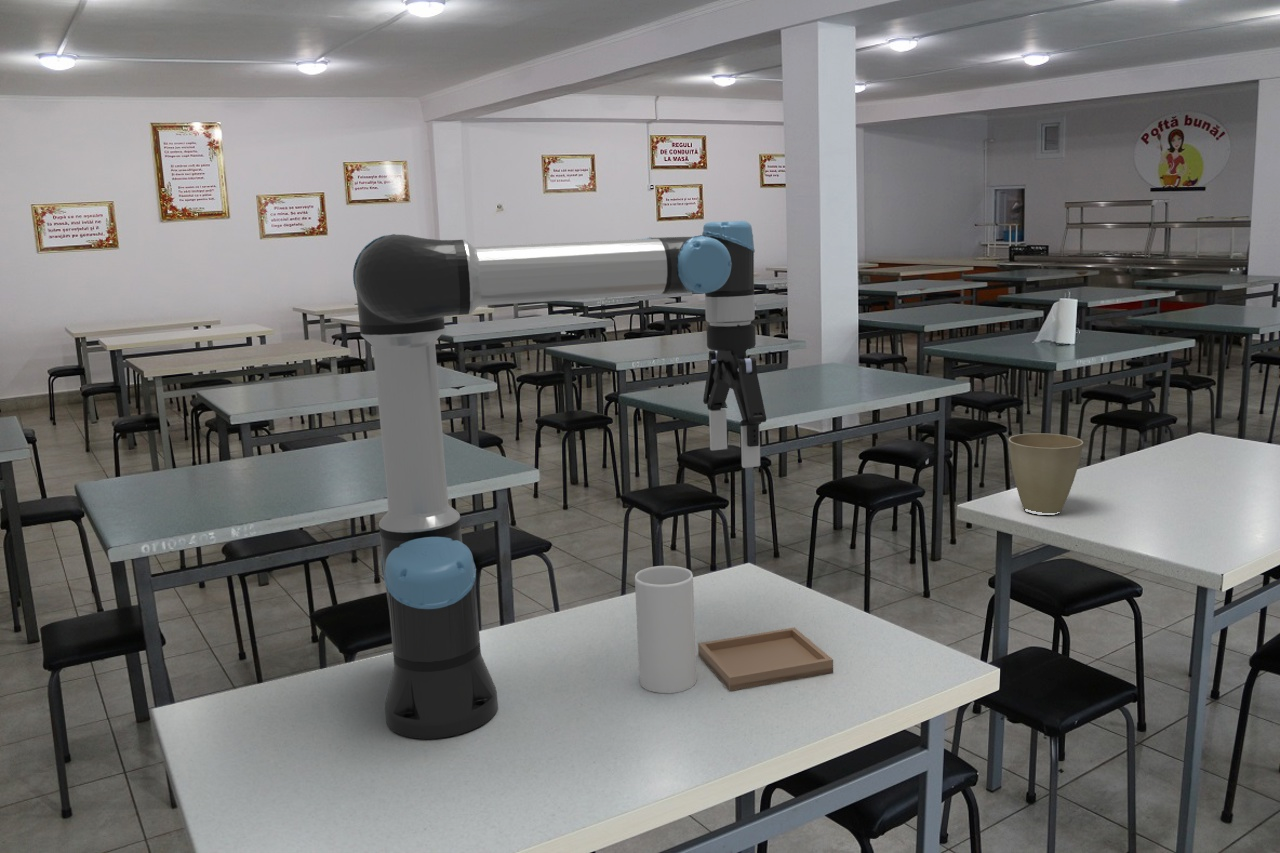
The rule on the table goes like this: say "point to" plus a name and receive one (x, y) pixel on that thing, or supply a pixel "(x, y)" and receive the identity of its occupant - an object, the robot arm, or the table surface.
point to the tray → (764, 658)
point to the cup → (665, 628)
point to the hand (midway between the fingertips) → (734, 457)
